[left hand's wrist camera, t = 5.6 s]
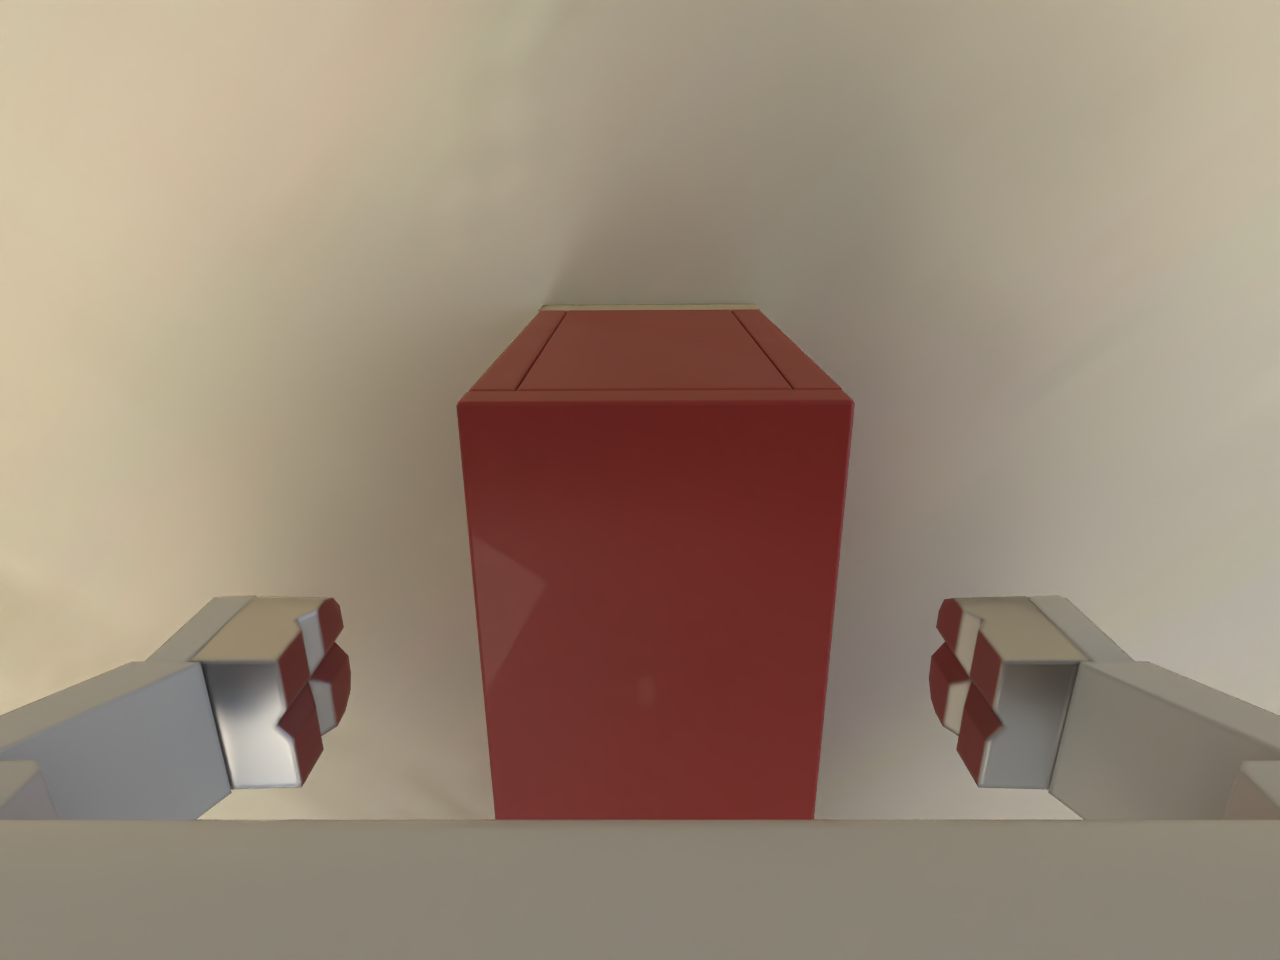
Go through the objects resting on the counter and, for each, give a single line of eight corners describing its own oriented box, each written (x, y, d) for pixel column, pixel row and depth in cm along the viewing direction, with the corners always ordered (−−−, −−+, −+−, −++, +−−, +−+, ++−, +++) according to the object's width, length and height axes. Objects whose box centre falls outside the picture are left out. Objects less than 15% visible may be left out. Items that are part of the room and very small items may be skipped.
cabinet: (728, 866, 26) (775, 1228, 17) (571, 866, 26) (532, 1228, 17) (754, 304, 20) (857, 399, 10) (542, 305, 20) (453, 401, 10)
